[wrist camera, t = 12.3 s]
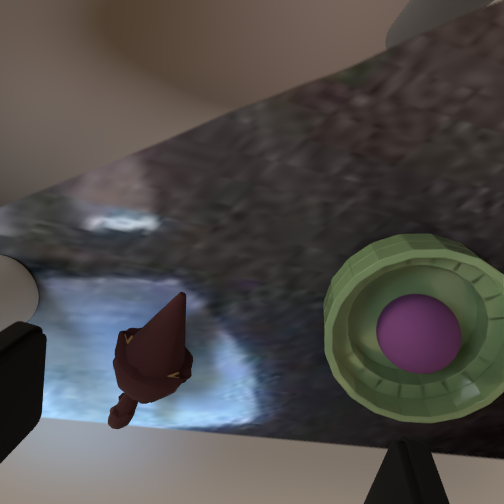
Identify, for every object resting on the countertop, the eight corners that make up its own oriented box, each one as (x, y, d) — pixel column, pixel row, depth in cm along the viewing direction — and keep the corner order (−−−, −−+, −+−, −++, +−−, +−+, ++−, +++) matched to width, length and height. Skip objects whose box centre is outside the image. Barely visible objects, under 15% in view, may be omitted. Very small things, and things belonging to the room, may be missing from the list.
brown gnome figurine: (118, 281, 29) (73, 409, 35) (195, 339, 28) (133, 463, 34) (173, 258, 35) (126, 370, 42) (238, 304, 34) (179, 414, 40)
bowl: (354, 210, 31) (361, 224, 27) (531, 261, 30) (570, 284, 26) (303, 355, 36) (301, 389, 31) (455, 403, 35) (476, 446, 30)
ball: (387, 272, 32) (400, 303, 26) (460, 295, 31) (489, 331, 26) (361, 334, 34) (369, 375, 28) (430, 356, 33) (451, 402, 28)
